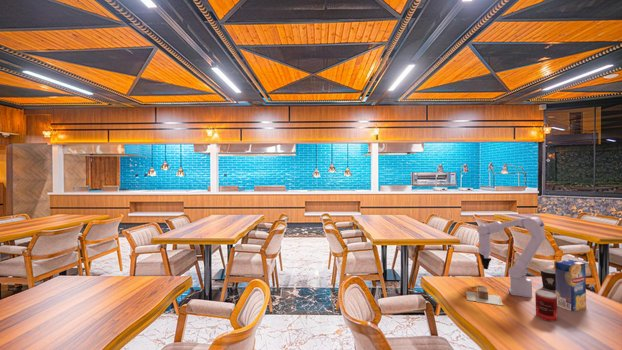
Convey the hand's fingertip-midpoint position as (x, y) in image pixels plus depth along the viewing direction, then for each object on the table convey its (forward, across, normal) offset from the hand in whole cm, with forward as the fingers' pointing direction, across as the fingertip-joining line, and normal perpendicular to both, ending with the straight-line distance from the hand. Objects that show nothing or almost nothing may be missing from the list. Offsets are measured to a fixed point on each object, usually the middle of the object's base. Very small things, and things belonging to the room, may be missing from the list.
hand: (485, 267), depth 170 cm
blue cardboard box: (+11, +16, +35) cm, 40 cm away
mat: (+10, +23, -3) cm, 25 cm away
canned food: (+11, +34, +21) cm, 41 cm away
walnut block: (+8, +16, -3) cm, 18 cm away
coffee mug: (+11, -7, +34) cm, 36 cm away
